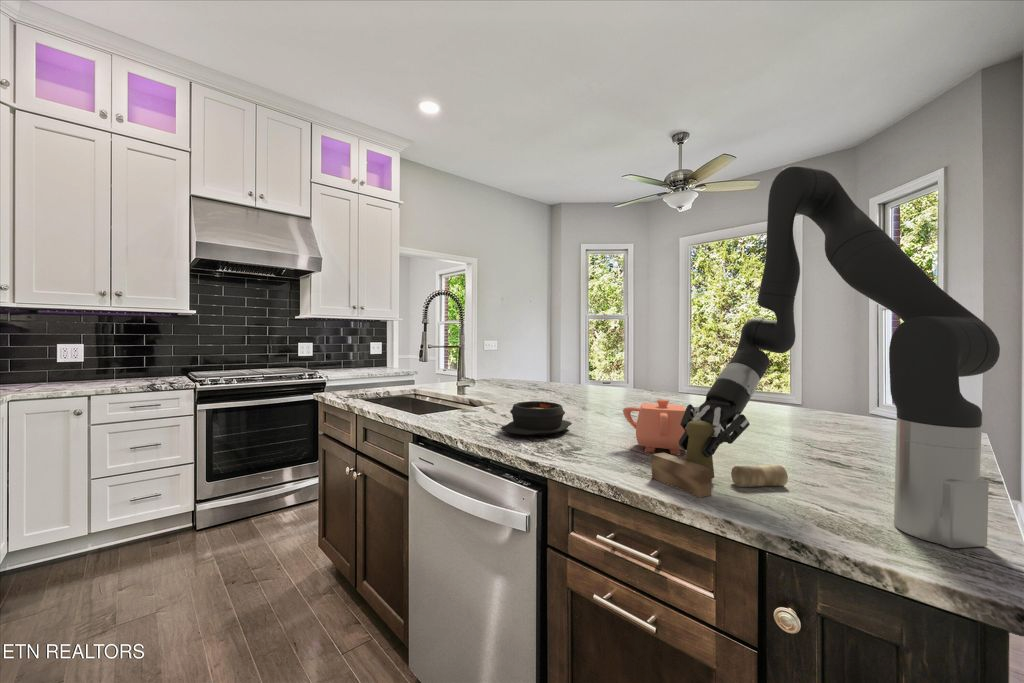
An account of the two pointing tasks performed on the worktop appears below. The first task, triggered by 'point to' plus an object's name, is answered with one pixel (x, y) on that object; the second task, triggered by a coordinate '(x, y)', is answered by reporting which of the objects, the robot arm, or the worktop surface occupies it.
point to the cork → (698, 442)
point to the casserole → (536, 418)
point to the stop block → (682, 474)
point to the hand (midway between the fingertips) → (693, 450)
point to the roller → (759, 475)
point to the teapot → (658, 425)
